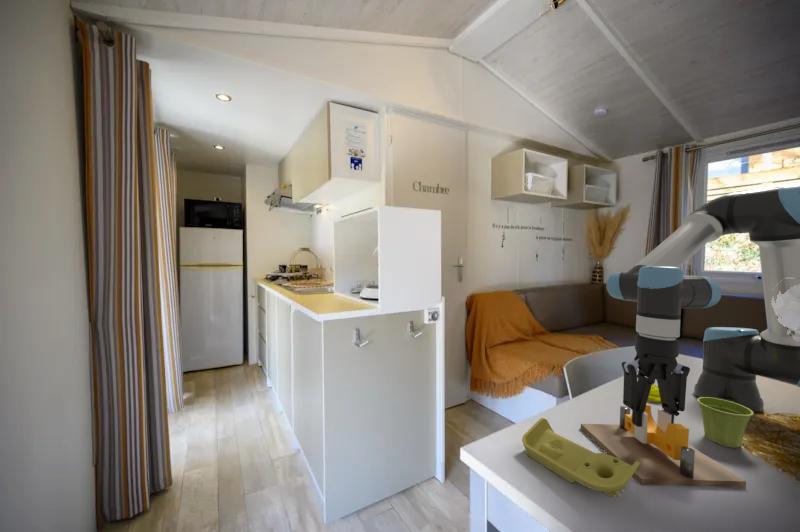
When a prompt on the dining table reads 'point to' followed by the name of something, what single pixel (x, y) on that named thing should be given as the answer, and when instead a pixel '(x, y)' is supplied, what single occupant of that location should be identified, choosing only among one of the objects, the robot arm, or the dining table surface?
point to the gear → (654, 394)
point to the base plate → (659, 460)
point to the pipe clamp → (663, 435)
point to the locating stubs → (686, 452)
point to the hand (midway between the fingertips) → (651, 440)
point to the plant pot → (724, 420)
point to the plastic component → (576, 460)
